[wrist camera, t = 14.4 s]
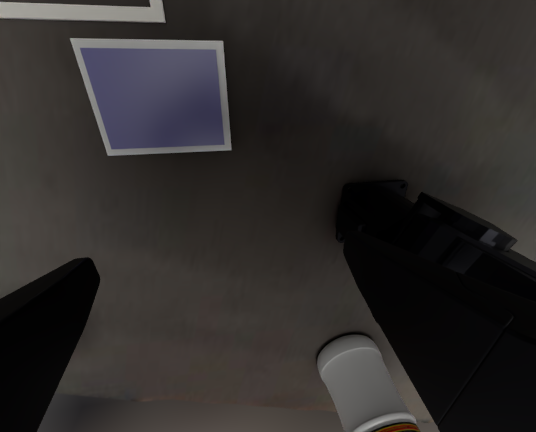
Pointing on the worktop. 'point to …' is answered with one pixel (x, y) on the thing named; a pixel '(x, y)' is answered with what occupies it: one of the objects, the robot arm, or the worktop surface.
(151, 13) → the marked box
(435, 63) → the worktop surface
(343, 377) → the vodka
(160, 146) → the ink pad
